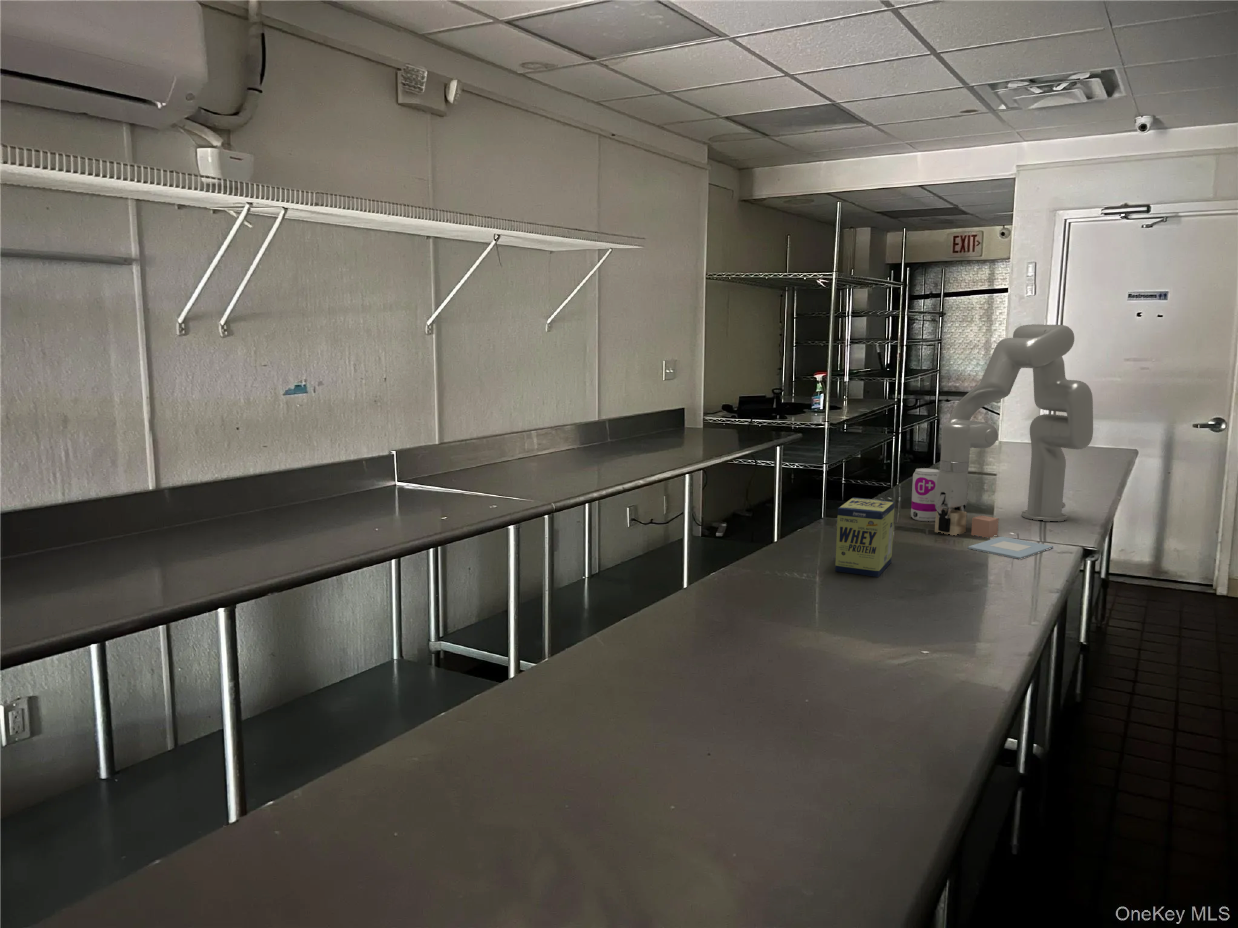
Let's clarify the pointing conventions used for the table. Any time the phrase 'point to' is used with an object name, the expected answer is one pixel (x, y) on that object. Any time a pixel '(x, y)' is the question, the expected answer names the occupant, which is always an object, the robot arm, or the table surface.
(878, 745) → the table surface
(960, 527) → the base block
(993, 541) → the board
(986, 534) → the top block
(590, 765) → the table surface
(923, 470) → the supplement can
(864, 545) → the protein box
